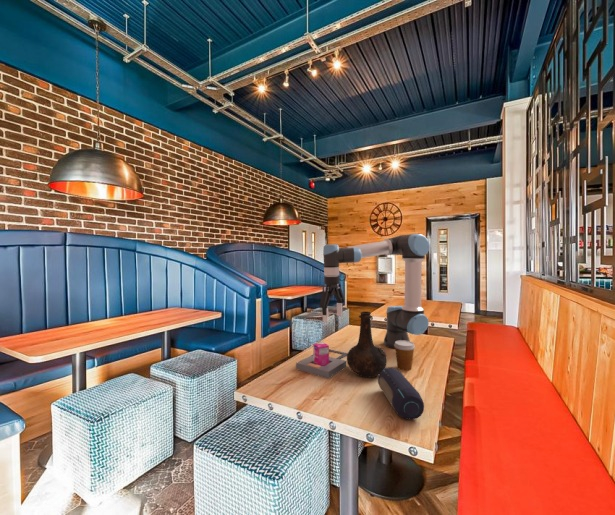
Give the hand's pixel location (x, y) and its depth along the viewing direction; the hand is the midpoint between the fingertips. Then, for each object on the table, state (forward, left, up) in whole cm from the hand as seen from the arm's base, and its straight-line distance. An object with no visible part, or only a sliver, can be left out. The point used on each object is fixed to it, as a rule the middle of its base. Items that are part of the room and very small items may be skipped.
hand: (332, 318), depth 148 cm
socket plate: (+1, +8, -22) cm, 24 cm away
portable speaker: (-40, +20, -23) cm, 50 cm away
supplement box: (+1, +8, -23) cm, 24 cm away
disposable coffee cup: (-31, -15, -23) cm, 41 cm away
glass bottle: (-19, +1, -23) cm, 29 cm away
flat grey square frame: (+7, -9, -22) cm, 25 cm away
